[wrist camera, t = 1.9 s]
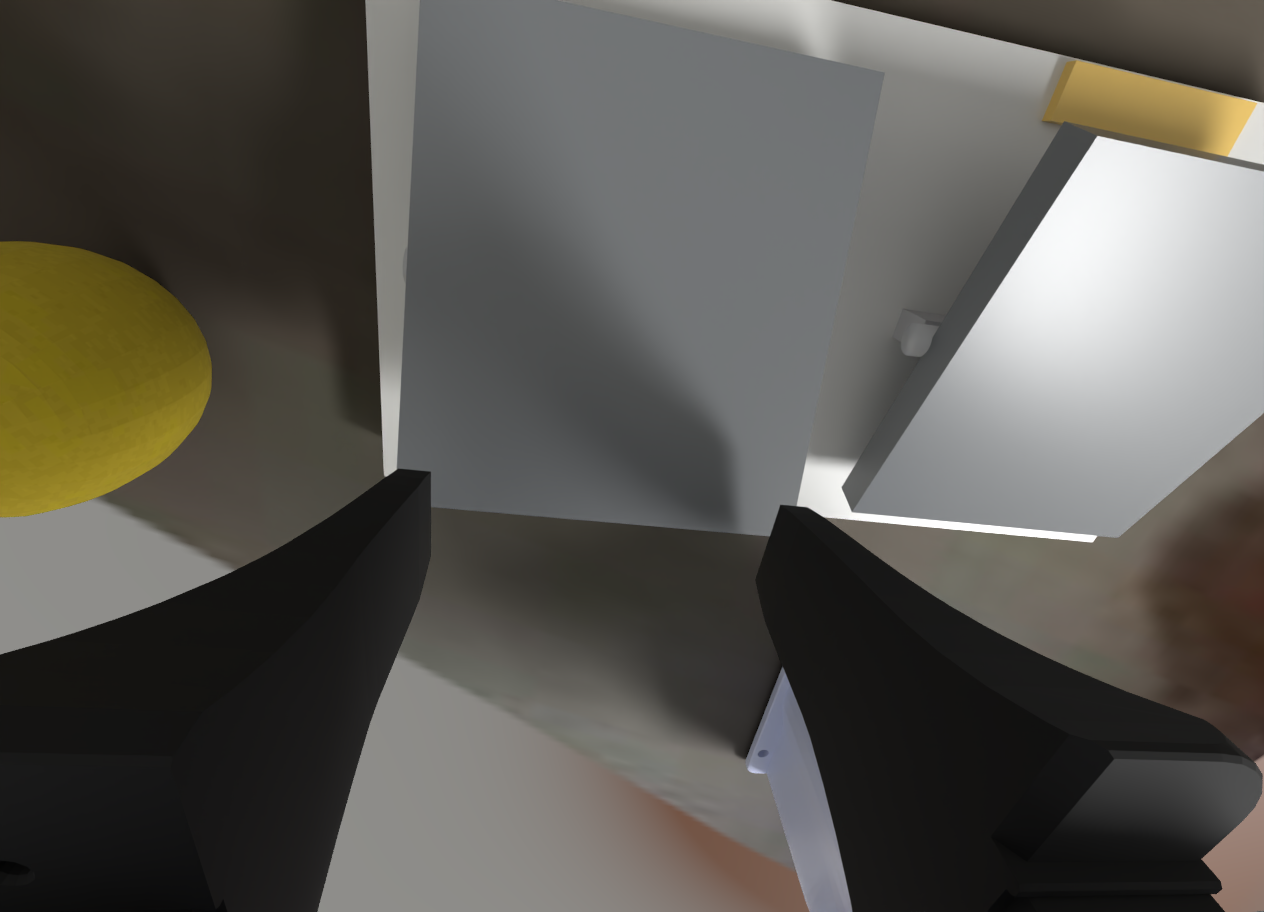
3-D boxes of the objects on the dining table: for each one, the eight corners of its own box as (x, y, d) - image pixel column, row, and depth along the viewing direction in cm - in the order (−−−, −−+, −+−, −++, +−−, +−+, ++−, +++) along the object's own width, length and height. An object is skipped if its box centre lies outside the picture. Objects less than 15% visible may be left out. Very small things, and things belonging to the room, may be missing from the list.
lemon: (41, 371, 17) (-349, 535, 10) (52, 181, 15) (-438, 214, 8) (247, 442, 18) (40, 628, 11) (284, 279, 16) (58, 383, 9)
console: (1052, 511, 22) (1120, 563, 19) (401, 444, 19) (371, 497, 16) (1277, 128, 16) (1423, 124, 14) (390, -76, 13) (337, -139, 10)
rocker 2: (1092, 498, 19) (1126, 538, 18) (825, 470, 18) (842, 511, 17) (1413, 192, 13) (1500, 222, 12) (1029, 109, 11) (1083, 132, 10)
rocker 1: (775, 515, 15) (801, 539, 14) (401, 481, 14) (380, 502, 12) (856, 105, 13) (899, 75, 12) (425, 15, 12) (403, -35, 10)
